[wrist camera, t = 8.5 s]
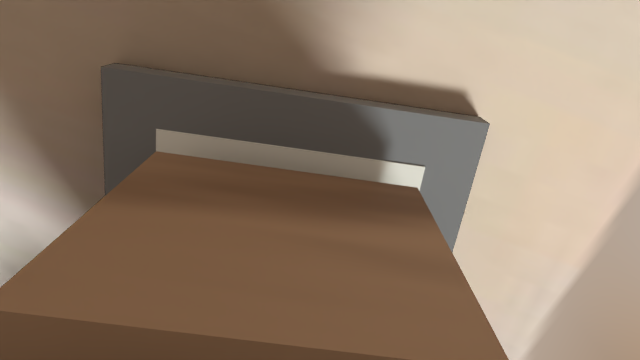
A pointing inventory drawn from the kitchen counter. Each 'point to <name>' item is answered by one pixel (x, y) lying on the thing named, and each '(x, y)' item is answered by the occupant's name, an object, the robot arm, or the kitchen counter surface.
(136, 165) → the pad
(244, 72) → the kitchen counter surface
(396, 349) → the walnut block
